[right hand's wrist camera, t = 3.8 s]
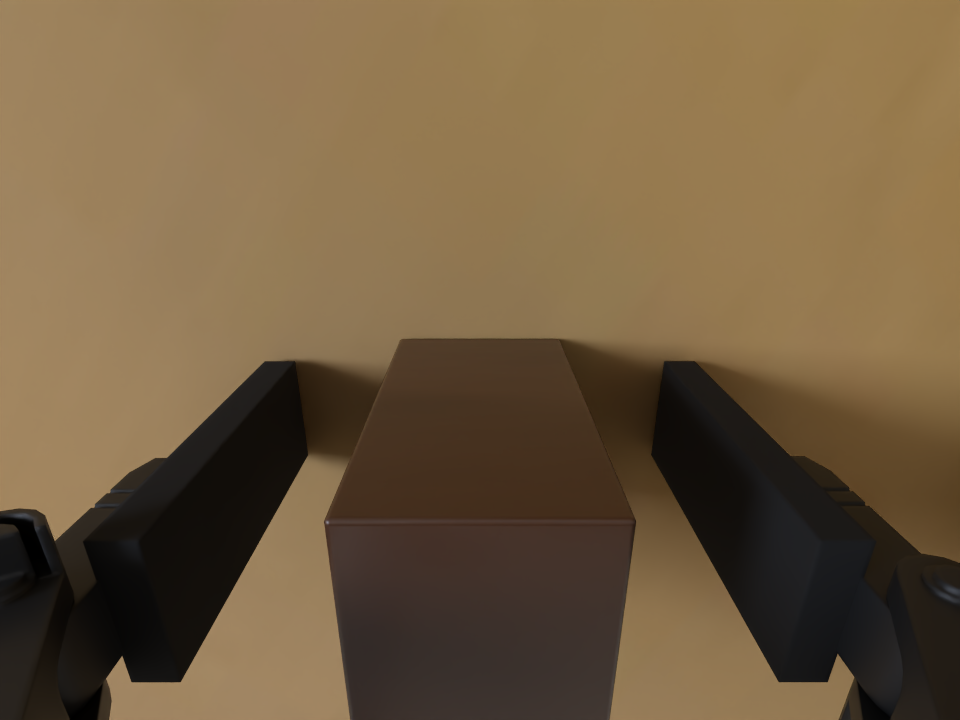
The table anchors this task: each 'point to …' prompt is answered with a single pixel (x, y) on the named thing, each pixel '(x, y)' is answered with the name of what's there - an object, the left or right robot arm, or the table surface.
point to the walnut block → (480, 541)
